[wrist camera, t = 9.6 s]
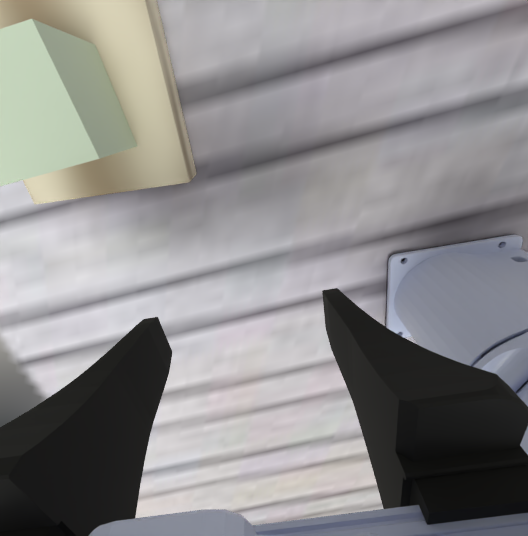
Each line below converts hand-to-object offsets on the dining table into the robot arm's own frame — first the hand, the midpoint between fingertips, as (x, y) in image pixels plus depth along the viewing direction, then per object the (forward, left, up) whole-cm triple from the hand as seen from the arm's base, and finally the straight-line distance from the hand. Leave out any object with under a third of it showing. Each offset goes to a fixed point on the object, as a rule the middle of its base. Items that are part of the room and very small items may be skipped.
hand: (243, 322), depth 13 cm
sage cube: (+7, -9, -7) cm, 13 cm away
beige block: (+7, -10, -10) cm, 15 cm away
